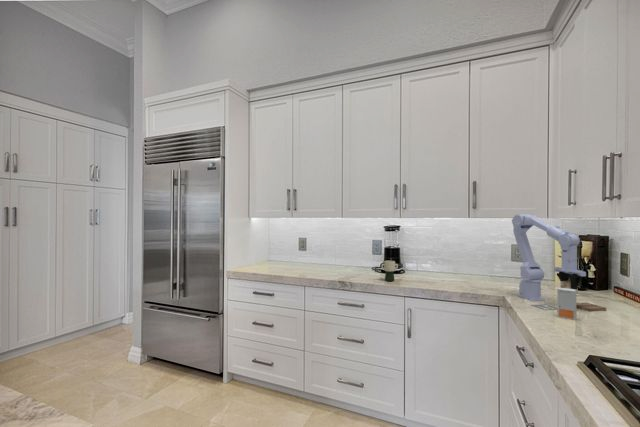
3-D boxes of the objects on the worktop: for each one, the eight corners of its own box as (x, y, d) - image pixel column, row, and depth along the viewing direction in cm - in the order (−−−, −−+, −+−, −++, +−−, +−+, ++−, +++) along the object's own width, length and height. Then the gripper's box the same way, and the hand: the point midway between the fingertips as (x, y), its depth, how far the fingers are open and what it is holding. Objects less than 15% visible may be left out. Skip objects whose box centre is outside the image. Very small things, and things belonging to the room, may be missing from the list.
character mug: (396, 279, 225) (396, 260, 225) (399, 281, 218) (399, 261, 218) (380, 279, 224) (380, 260, 225) (382, 282, 217) (382, 261, 217)
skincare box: (557, 317, 141) (556, 288, 141) (559, 315, 144) (559, 287, 144) (575, 320, 136) (574, 291, 136) (576, 318, 139) (576, 289, 139)
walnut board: (570, 306, 157) (570, 303, 157) (586, 305, 159) (586, 302, 159) (589, 311, 148) (589, 308, 148) (606, 310, 150) (606, 307, 150)
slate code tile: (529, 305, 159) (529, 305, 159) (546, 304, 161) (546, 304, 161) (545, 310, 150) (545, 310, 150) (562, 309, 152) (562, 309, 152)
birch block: (560, 291, 156) (560, 281, 156) (569, 291, 157) (569, 280, 157) (568, 293, 152) (568, 282, 152) (577, 293, 153) (577, 282, 153)
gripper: (548, 258, 161) (548, 286, 161) (576, 262, 147) (576, 293, 147) (561, 258, 162) (561, 286, 162) (589, 261, 148) (590, 292, 148)
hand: (569, 289), depth 154 cm, fingers closed on birch block, 4 cm apart
